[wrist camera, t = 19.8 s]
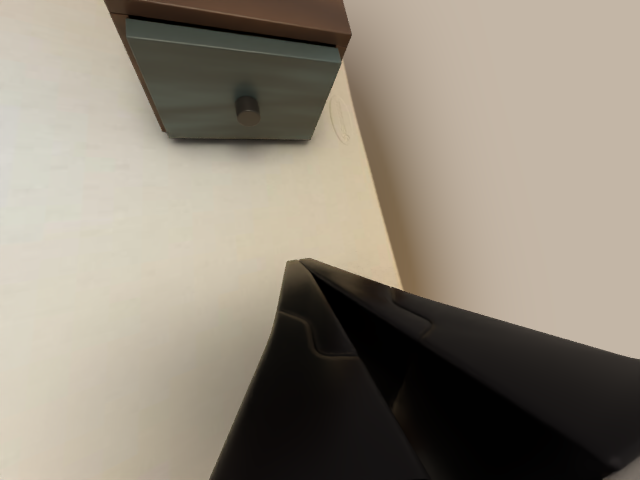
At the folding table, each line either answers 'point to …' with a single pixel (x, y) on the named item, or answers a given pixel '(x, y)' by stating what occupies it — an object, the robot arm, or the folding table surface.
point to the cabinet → (240, 20)
